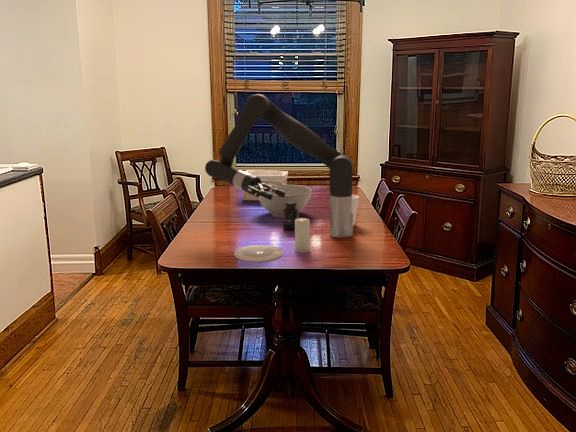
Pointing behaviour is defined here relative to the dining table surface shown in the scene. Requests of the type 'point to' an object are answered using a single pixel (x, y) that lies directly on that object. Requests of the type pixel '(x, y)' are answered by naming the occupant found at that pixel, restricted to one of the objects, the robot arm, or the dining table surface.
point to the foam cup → (354, 207)
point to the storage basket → (267, 180)
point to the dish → (258, 253)
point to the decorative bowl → (286, 199)
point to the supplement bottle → (290, 215)
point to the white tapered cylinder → (302, 235)
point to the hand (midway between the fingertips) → (278, 196)
